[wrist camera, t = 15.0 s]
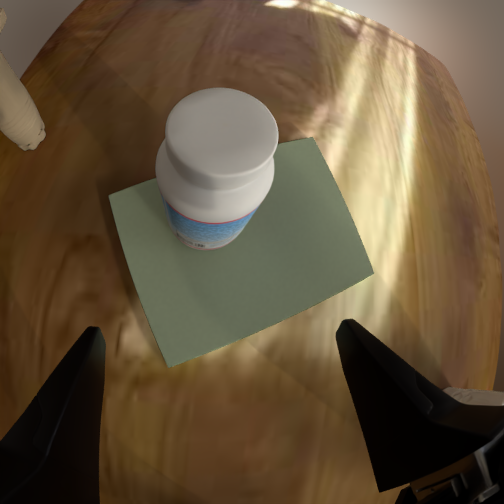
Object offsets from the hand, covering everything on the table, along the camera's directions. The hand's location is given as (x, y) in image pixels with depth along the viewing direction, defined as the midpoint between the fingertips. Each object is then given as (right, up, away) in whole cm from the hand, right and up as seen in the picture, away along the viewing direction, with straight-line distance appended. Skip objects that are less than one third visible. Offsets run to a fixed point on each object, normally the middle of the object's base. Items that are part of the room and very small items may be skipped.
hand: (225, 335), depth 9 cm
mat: (+1, +4, +13) cm, 13 cm away
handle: (-21, +14, +10) cm, 27 cm away
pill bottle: (-3, +6, +12) cm, 13 cm away
